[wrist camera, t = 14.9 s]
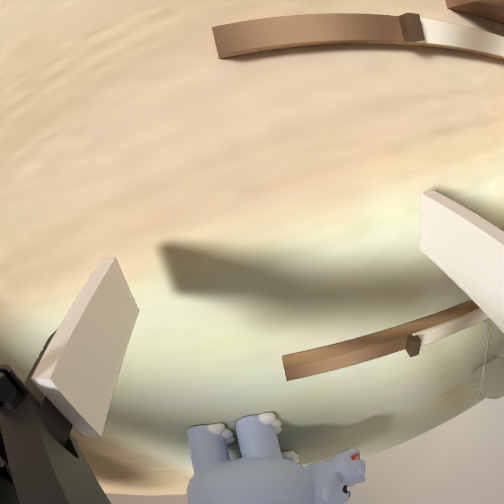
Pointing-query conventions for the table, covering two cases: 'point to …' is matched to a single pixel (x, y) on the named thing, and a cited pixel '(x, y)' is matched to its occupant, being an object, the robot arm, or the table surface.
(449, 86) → the table surface
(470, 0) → the die
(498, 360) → the sunglasses
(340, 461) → the hippopotamus toy
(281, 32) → the track
